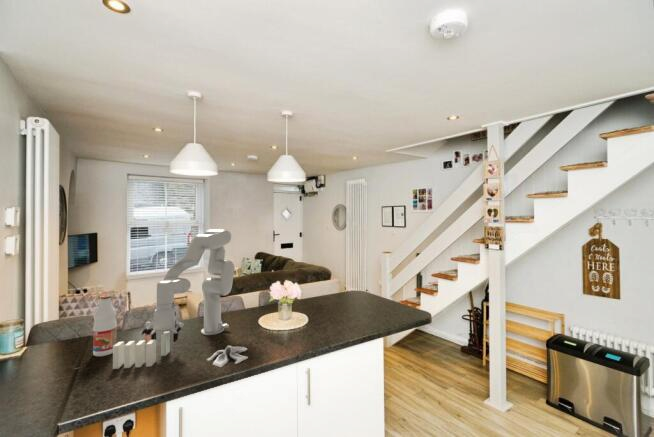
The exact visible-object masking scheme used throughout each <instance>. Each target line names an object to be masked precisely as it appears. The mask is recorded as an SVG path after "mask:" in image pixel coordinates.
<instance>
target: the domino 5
mask: <svg viewBox="0 0 654 437" xmlns="http://www.w3.org/2000/svg"><path fill="white" fill-rule="evenodd" d="M170 331H171V330H164V331H163V333H161V335H160V356H161V357H166V356H167V355H168V354H169V353H170V349H171V347H170V346H171V345H170V344H171V343H170V342H171V339H170V338H171V337H170V336H171V332H170Z"/></svg>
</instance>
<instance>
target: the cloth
mask: <svg viewBox="0 0 654 437" xmlns="http://www.w3.org/2000/svg"><path fill="white" fill-rule="evenodd" d="M247 350H248V348H247V347H245V346H232V345H227V346H226V347H225V349H220V350H217V351H216V352H214V353H213V354H212V356H210V357H208V358H206V360H207V361H212V360H214V359H215V360H214V361H213V363H212V365H214V367H215V366H216V367H218V368H222V367H224V366H225V365H226V364H228V362H229V361H230V360H234V361H235V362H234V364H240V363H241V362H242V361H245V360H247V359H248V358H249V357H248V356H246V355H241V353H244V352H246V351H247Z"/></svg>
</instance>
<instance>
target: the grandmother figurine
mask: <svg viewBox="0 0 654 437" xmlns="http://www.w3.org/2000/svg"><path fill="white" fill-rule="evenodd" d="M151 322H152V321H146V322H145V326H146V325H147V324H149V323H151ZM150 328H151V329H153V325H151V326H150ZM157 332H158V331H156V332H155V333H156V336H157V335H158V333H157ZM143 336H144V338H143V340H146V344H147V343H148V342H149V341H150V340H151V334H150V333H149V332H148V331H147V329H146V328H145V329H143V330H142V331H141V334H140V338H141V337H143Z"/></svg>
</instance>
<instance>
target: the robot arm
mask: <svg viewBox="0 0 654 437" xmlns="http://www.w3.org/2000/svg"><path fill="white" fill-rule="evenodd" d="M231 240H232V233H231V232H230V231H229V230H227V229H208V230H205V231H204V234H197V235H194V236H193V237H192V240H191V241H190V243H189V245H188V247H187V249H186V251H185V253H184V255H183V256H182V257H181V259H179V260H178V261H177V262H176V263H174V264H173V265H172V266H170V268H169V269H168V270H167V273H166V274H165V276H164V278H163V279H162V280H160V281H158V282H157V283H156V306H155V307H156V309H155V310H154V312H153V318H152V321H150V322H151V323H149V324H147V325H145V329H147V331H148V332H149V333H150V334H151V340H156V341H157V335H156V333H155V332H158V331H159V332H161V331H172V332H173V337H172V338H173V342H174V343H176V341H178V339H179V332H180V331H181V330H182V329H183V327H184V325H185V323H184V322H183V321H180V320H178V315H177V314H178V312H177V309H176V308H177V306H178V303H175V294H176V295H179V294H185V293H187V292H188V291H190V288H191V286H192V285H191V281H190V280H189V279H187V278H184V277H179V276H180V275H181V274H182V273H183V272H185V271H186V270H189V269H190V268H193V267H196V266H197V265H199V264H200V261H201V259H202V257H203V255H204V253H205V250H206V251H210V252H209V258H208V264H207V272H208V274H209V275H212V276H218V277H207V278H206V279H204V280H203V281H202V284H201V291H202V296H203V328H202V329H200V334H202V335H204V336H212V335H218V334H220V333H222V332H224V330H225V329H229V324H228V323H223V321H222V300H221V296H227V295H229V294H230V293H231V290H232V289H233V288H232V287H233V283H234V282H233V281H234V277H235V276H234V275H235V265H234V262H233V261H231V260H230V259H225V256H226V249H225V247H224V246H226V245H228V244H229V243H230V242H231ZM151 325H152V326H151ZM178 325H179V327H177V326H178ZM150 326H151V328H153V329H151V328H150Z"/></svg>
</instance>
